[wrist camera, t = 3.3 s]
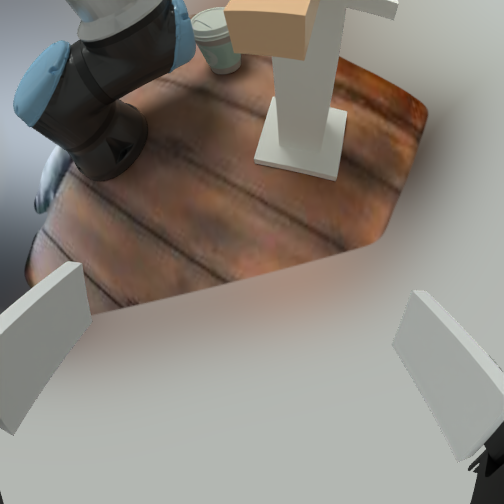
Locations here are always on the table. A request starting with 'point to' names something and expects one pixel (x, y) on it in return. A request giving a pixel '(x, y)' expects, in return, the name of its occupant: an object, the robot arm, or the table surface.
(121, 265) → the table surface
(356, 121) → the table surface
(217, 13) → the coffee cup
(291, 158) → the tall stand
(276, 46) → the hammer
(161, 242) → the table surface
